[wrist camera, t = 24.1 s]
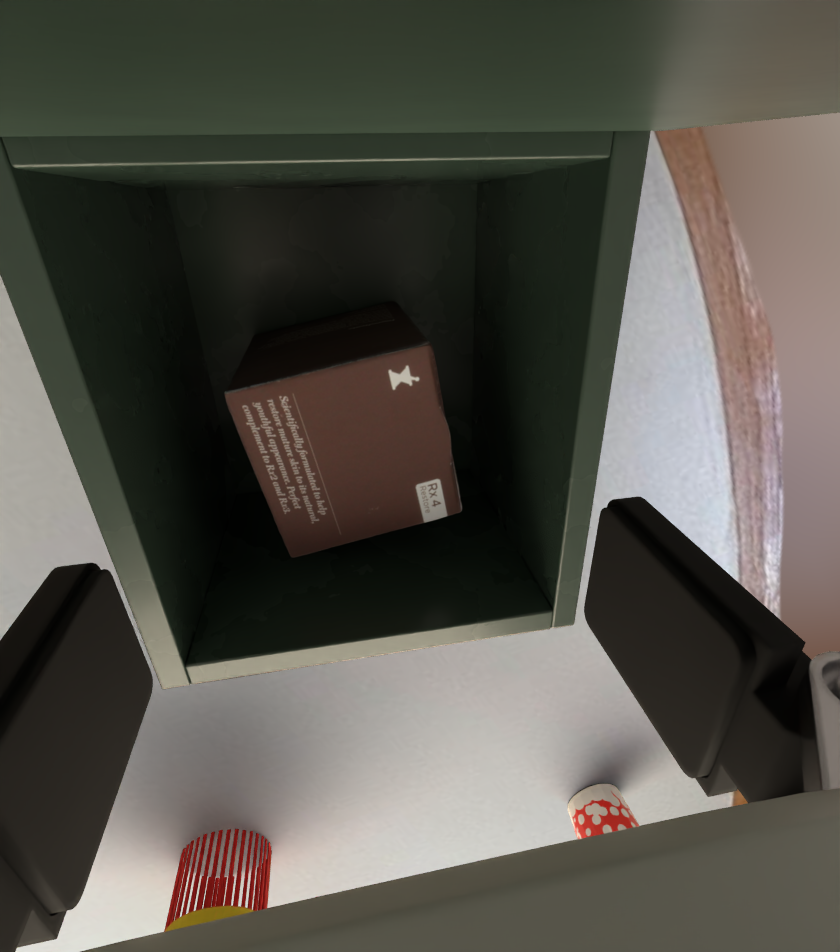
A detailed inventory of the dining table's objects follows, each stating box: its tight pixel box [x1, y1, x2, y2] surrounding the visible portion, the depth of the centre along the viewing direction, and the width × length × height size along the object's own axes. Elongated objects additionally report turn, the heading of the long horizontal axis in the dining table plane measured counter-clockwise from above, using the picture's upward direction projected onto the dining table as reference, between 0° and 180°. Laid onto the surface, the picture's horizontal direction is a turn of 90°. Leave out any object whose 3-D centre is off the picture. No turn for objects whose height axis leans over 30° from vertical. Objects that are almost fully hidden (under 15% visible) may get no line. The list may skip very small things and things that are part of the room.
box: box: [224, 301, 462, 558], centre depth 18 cm, size 6×6×7 cm
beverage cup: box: [568, 784, 639, 839], centre depth 36 cm, size 6×6×14 cm
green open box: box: [0, 131, 650, 689], centre depth 17 cm, size 14×13×11 cm
